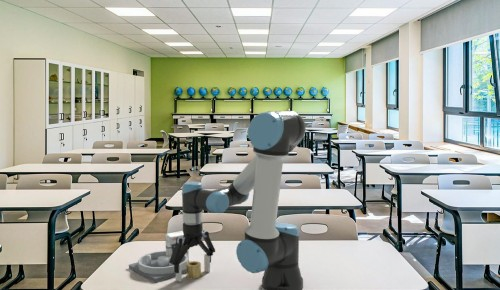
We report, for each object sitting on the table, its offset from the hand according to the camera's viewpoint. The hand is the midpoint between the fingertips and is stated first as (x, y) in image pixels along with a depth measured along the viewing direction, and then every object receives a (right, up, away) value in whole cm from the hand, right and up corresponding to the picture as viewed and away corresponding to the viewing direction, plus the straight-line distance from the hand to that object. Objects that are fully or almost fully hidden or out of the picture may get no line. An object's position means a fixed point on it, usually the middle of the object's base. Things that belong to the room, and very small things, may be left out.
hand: (193, 275), depth 179 cm
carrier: (-13, +1, +8) cm, 15 cm away
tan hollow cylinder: (0, 0, 0) cm, 0 cm away
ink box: (-9, +2, +16) cm, 18 cm away
